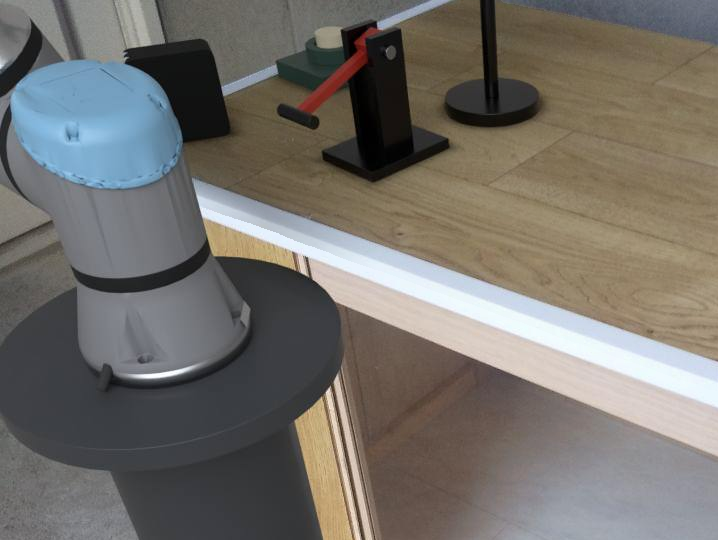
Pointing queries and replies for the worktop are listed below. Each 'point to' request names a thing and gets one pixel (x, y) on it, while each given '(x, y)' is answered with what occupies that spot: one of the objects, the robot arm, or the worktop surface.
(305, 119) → the switch lever
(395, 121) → the stand
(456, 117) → the desk lamp
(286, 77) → the timer box
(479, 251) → the worktop surface
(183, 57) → the electronic device
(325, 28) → the timer button
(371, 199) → the worktop surface
